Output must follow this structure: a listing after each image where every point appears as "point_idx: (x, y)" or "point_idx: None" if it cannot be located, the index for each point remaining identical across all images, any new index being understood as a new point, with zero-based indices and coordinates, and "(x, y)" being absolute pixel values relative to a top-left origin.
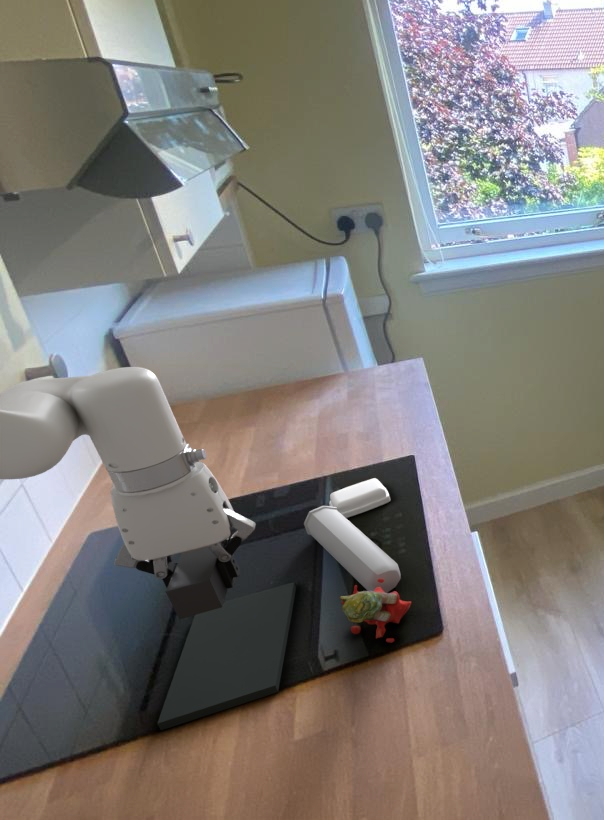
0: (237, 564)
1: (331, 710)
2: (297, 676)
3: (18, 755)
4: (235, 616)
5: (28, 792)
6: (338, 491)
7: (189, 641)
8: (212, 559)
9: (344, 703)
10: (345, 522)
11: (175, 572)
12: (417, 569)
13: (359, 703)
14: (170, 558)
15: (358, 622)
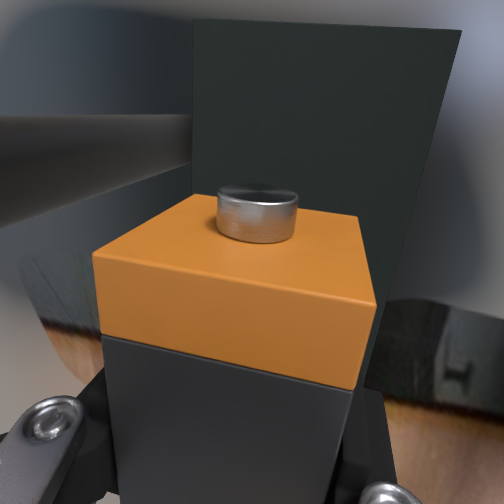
0: (385, 416)
1: (422, 480)
2: (389, 383)
3: (27, 284)
4: (291, 130)
5: (71, 360)
6: None
7: (199, 173)
8: None
9: (443, 481)
10: None
11: (128, 502)
12: None
13: (463, 495)
14: (61, 479)
15: None
